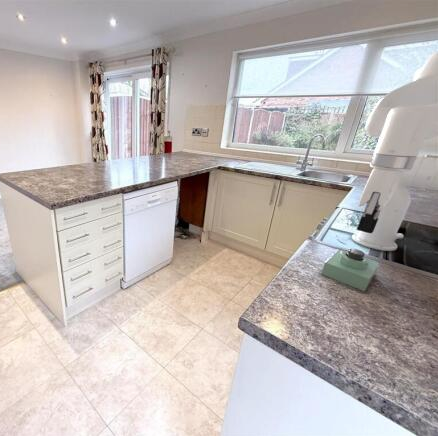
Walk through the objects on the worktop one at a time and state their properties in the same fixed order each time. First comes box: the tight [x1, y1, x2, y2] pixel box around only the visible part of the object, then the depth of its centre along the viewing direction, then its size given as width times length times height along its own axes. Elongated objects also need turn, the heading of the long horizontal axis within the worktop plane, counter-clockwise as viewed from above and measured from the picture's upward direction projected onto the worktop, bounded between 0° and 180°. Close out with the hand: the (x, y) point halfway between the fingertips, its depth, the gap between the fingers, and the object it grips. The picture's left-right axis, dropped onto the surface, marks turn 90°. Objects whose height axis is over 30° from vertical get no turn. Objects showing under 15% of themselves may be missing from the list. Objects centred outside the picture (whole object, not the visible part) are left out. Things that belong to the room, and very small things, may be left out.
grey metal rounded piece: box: [346, 248, 366, 261], centre depth 69 cm, size 4×4×2 cm
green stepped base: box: [320, 249, 380, 292], centre depth 70 cm, size 12×10×6 cm
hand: (364, 230), depth 66 cm, fingers closed
